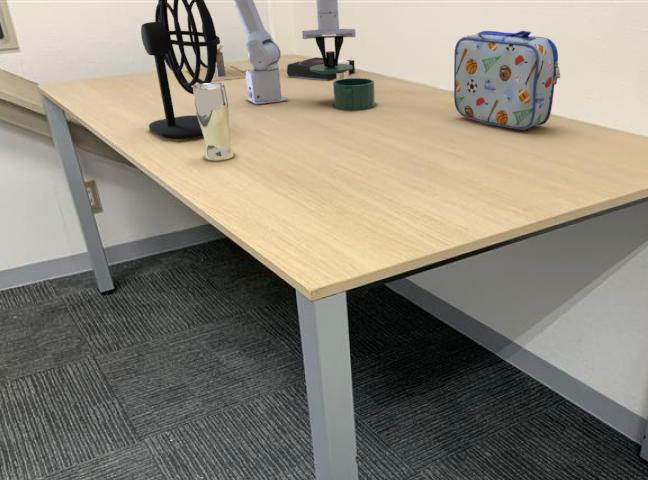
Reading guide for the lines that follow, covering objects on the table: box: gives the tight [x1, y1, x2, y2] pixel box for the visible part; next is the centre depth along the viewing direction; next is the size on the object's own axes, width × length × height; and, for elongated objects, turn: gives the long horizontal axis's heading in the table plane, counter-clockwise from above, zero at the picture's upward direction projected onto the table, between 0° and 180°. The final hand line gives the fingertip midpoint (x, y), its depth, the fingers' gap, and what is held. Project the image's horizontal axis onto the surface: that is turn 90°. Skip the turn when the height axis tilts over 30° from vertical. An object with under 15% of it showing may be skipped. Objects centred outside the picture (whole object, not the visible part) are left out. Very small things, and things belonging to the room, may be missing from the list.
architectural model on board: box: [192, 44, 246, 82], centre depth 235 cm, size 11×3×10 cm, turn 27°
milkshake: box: [335, 55, 352, 81], centre depth 205 cm, size 4×5×10 cm
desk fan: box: [140, 0, 221, 141], centre depth 159 cm, size 27×18×35 cm, turn 36°
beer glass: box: [192, 82, 234, 162], centre depth 144 cm, size 7×7×15 cm
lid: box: [310, 50, 352, 74], centre depth 188 cm, size 12×12×5 cm
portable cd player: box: [286, 57, 356, 82], centre depth 231 cm, size 16×17×4 cm
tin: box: [332, 77, 376, 111], centre depth 188 cm, size 11×17×6 cm
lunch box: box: [453, 30, 561, 130], centre depth 162 cm, size 28×10×22 cm, turn 45°
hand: (331, 65), depth 188 cm, fingers closed on lid, 2 cm apart
